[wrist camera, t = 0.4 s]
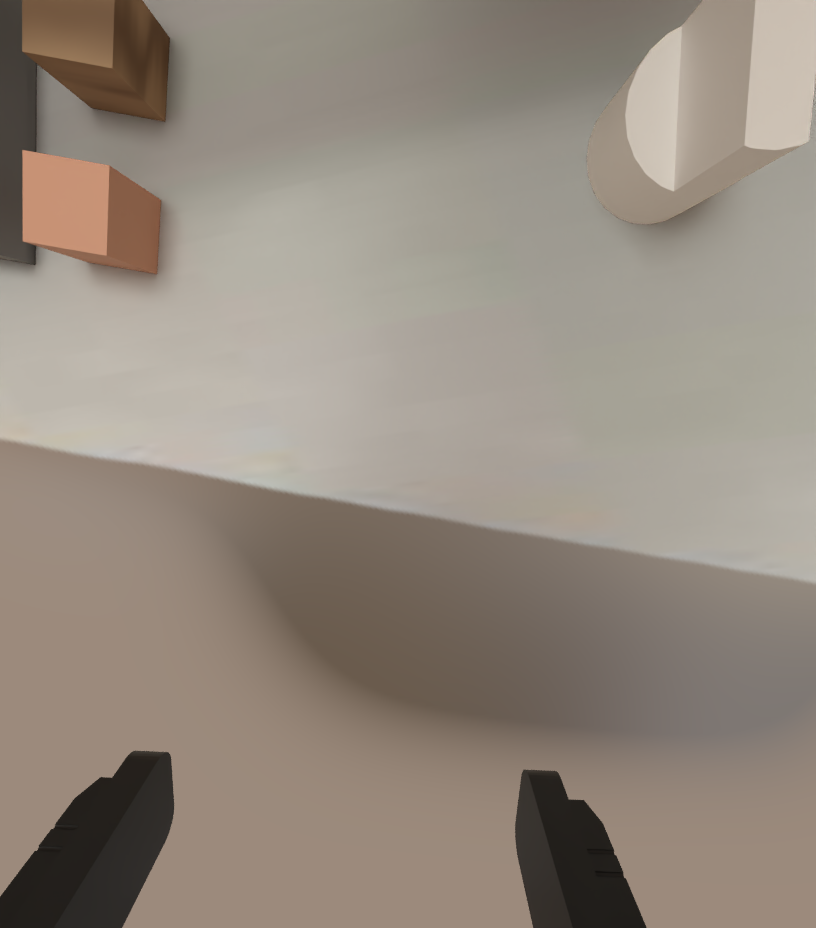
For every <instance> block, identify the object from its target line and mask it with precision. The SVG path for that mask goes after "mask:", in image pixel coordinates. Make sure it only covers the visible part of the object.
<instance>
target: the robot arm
mask: <svg viewBox="0 0 816 928" xmlns="http://www.w3.org/2000/svg"><path fill="white" fill-rule="evenodd" d="M173 798H174V796H173V781H172V766H171V756H170V754H169V753H168V752H149V751H133V752H131V753H130V754H129V755H128V756H127V758H126V759H125V761H124V762H123V763H122V765H121V766H120V767H119V769H118V770H117V772H116V773H115V775H114V776H113V777H112V778H103V777H101V778H99V779H98V780H97V781H95V782H94V783H93V784H92V785H91V786H89V787H88V788H87V789H86V790H84V792H82V793H81V794H80V795H78V796H77V797H76V798H75V799H74V800H73V801H72V803H71V804H70V805H69V807H68V808H67V809H66V811H65V812H64V813H63V815H62V816H61V817H60V819H59V820H58V821H57V822H56V824H55V828H54V829H51V830H50V832H49V833H48V834H47V836H46V837H45V838H44V840H43V841H42V842H41V844H40V845H39V848H38V850H37V851H35V852H34V853H33V854H32V855H31V857H30V858H29V859H28V861H27V862H26V863H25V865H24V866H23V867H22V869H21V870H20V871H19V873H18V874H17V875H16V877H15V878H14V879H13V881H12V882H11V883H10V885H9V886H8V887H7V888H6V890H5V891H4V892H3V894H2V895H1V896H0V928H122V927H123V925H124V923H125V921H126V918H127V917H128V915H129V913H130V911H131V909H132V907H133V905H134V903H135V901H136V899H137V897H138V895H139V893H140V891H141V889H142V887H143V885H144V883H145V881H146V879H147V877H148V875H149V873H150V871H151V869H152V867H153V865H154V863H155V861H156V859H157V857H158V855H159V853H160V851H161V849H162V847H163V845H164V843H165V841H166V839H167V836H168V834H169V830H170V827H171V824H172V819H173V814H174V799H173ZM515 833H516V835H515V837H516V848H517V855H518V860H519V865H520V869H521V874H522V878H523V883H524V888H525V892H526V896H527V901H528V906H529V910H530V914H531V919H532V924H533V928H646V925H645V923H644V921H643V918H642V916H641V913H640V911H639V909H638V906H637V904H636V902H635V900H634V897H633V894H632V892H631V890H630V887H629V885H628V883H627V880H626V879H625V878H624V876H623V871H622V868H621V866H620V863H619V861H618V859H617V856H616V855H614V849H613V847H612V844H611V842H610V840H609V837H608V835H607V832H606V830H605V828H604V825H603V823H602V822H601V821H600V819H599V818H598V817H597V816H596V814H595V813H594V812H593V811H592V810H591V808H590V807H589V806H588V805H587V803H586V802H585V801H584V800H569V799H568V797H567V794H566V791H565V789H564V786H563V783H562V780H561V778H560V776H559V774H558V772H556V771H540V770H523V772H522V777H521V784H520V792H519V800H518V807H517V815H516V824H515Z"/></svg>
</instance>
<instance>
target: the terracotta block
mask: <svg viewBox="0 0 816 928" xmlns="http://www.w3.org/2000/svg"><path fill="white" fill-rule="evenodd" d="M22 157H23V242H27V243H30V244H33V245H36V246H39V247H42V248H45V249H48V250H51V251H55V252H58V253H61V254H64V255H67V256H70V257H73V258H76V259H79V260H83V261H86V262H90V263H96V264H101V265H107V266H113V267H119V268H125V269H130V270H136V271H142V272H148V273H154V274H157V266H158V247H159V228H160V210H161V200H160V199H159V198H157V197H156V196H154V195H153V194H151V193H150V192H148V191H147V190H145V189H144V188H142V187H141V186H139V185H138V184H136V183H135V182H133V181H132V180H130V179H129V178H127V177H126V176H124V175H123V174H121V173H120V172H118V171H117V170H115V169H114V168H112V167H111V166H109V165H103V164H98V163H92V162H87V161H81V160H76V159H70V158H65V157H59V156H53V155H48V154H42V153H37V152H31V151H26V150H22Z"/></svg>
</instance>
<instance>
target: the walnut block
mask: <svg viewBox="0 0 816 928" xmlns="http://www.w3.org/2000/svg"><path fill="white" fill-rule="evenodd" d="M169 43H170V38H169V36H168V35H167V34H166V32H165V31H164V30H163V28H162V27H161V25H160V24H159V23H158V21H157V20H156V18H155V17H154V16H153V14H152V13H151V12H150V10H149V9H148V7H147V6H146V5H145V3H144V2H143V1H142V0H22V52H23V53H25V54H26V55H27V56H28V57H30V58H31V59H32V60H33V61H34V62H36V63H37V64H38V65H39V66H41V67H42V68H43V69H44V70H45V71H47V72H48V73H49V74H50V75H52V76H53V77H54V78H55V79H57V80H58V81H59V82H60V83H61V84H63V85H64V86H65V87H66V88H68V89H69V90H70V91H71V92H72V93H74V94H75V95H76V96H77V97H79V98H80V99H81V100H82V101H84V102H85V103H86V104H87V105H88V106H90V107H91V108H94V109H99V110H105V111H110V112H116V113H121V114H127V115H132V116H137V117H143V118H148V119H154V120H159V121H164V122H165V117H166V98H167V80H168V61H169Z"/></svg>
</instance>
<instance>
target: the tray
mask: <svg viewBox="0 0 816 928" xmlns="http://www.w3.org/2000/svg"><path fill="white" fill-rule="evenodd" d="M22 150H26V151H31V152H36V62H34V61H33V60H32V59H31V58H30V57H28V56H27V55H26V54H25V53H23V52H22V0H0V259H5V260H11V261H17V262H23V263H28V264H34V265H35V245H33V244H30V243H27V242H23V157H22Z"/></svg>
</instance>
